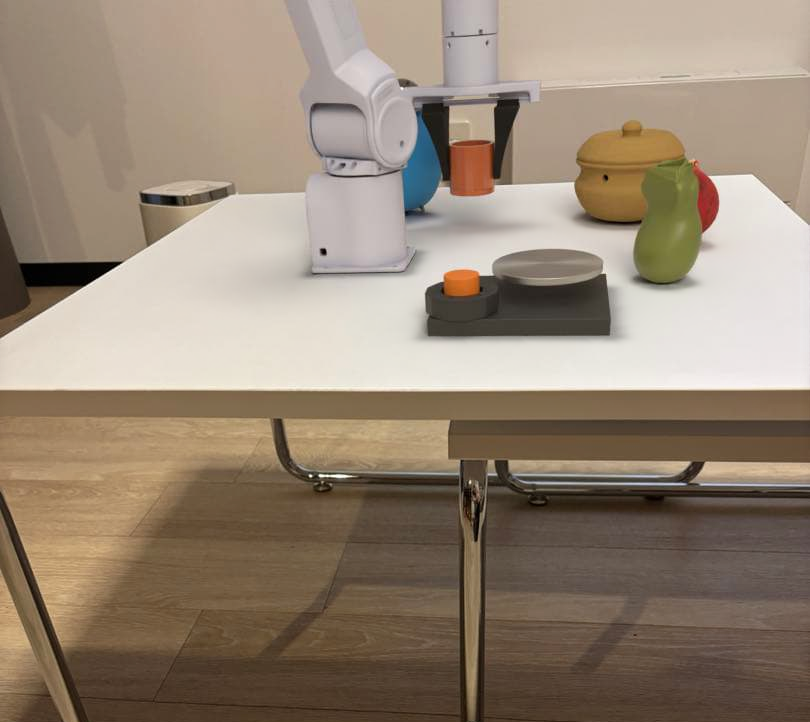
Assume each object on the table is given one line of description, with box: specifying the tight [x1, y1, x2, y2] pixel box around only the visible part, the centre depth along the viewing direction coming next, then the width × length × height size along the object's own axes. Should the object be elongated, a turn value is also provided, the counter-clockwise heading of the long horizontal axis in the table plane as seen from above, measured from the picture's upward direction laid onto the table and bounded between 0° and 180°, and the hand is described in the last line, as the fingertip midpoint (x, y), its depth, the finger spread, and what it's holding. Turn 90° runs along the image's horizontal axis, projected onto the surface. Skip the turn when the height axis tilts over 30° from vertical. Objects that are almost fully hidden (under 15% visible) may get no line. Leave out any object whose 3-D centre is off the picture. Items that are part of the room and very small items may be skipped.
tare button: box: [443, 268, 480, 296], centre depth 65 cm, size 3×3×2 cm
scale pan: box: [491, 248, 604, 286], centre depth 68 cm, size 9×9×1 cm
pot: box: [573, 119, 686, 223], centre depth 91 cm, size 12×12×10 cm
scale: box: [424, 273, 612, 337], centre depth 68 cm, size 14×12×3 cm
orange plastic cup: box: [448, 139, 496, 198], centre depth 91 cm, size 5×5×5 cm
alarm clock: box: [397, 77, 442, 215], centre depth 100 cm, size 13×6×15 cm, turn 40°
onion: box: [688, 158, 720, 235], centre depth 80 cm, size 6×6×8 cm
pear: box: [632, 157, 703, 284], centre depth 70 cm, size 6×5×10 cm
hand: (472, 178), depth 92 cm, fingers closed on orange plastic cup, 5 cm apart
